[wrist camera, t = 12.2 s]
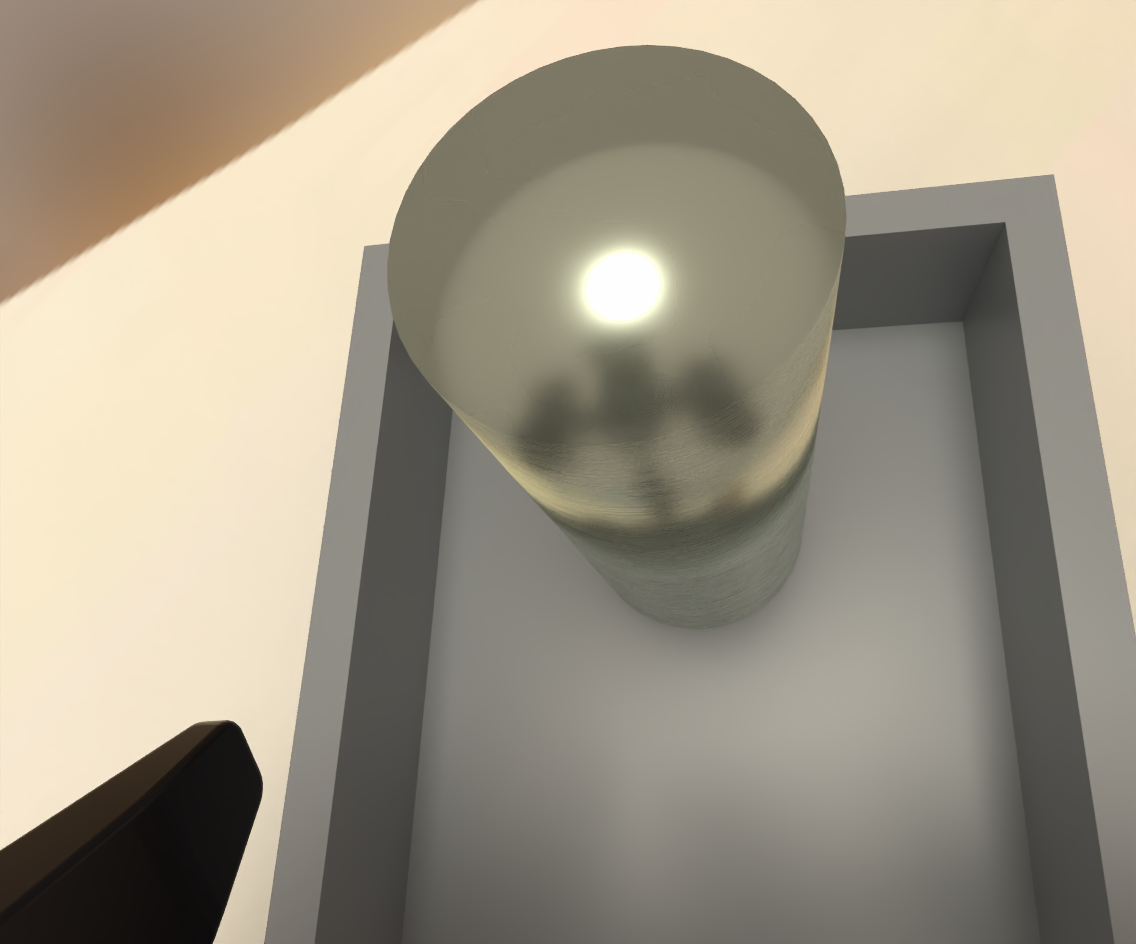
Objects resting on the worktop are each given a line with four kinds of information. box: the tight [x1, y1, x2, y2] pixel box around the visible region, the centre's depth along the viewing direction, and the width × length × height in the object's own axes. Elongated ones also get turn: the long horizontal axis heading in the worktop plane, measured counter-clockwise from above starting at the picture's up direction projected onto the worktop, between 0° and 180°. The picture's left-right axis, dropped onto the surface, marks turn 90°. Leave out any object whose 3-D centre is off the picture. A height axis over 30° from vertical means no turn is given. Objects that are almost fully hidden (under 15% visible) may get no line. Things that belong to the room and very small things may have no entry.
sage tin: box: [387, 45, 847, 629], centre depth 14 cm, size 5×5×12 cm
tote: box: [264, 174, 1136, 944], centre depth 17 cm, size 22×15×5 cm
